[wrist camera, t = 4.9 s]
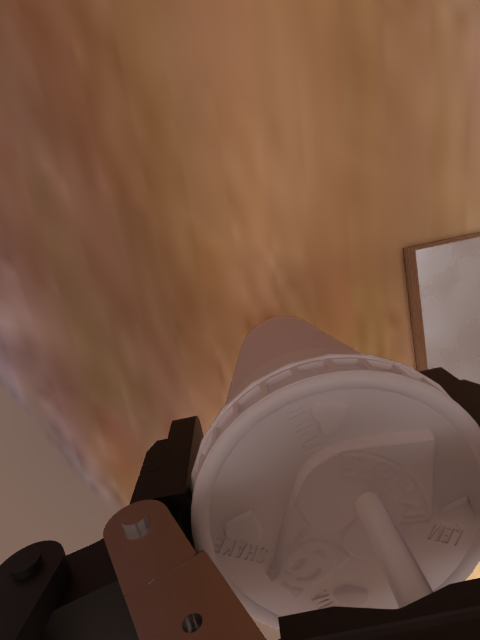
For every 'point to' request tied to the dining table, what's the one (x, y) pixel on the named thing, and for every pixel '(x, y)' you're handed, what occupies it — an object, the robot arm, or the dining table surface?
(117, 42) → the dining table surface
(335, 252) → the dining table surface
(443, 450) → the smoothie
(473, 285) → the hub plate
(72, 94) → the dining table surface
